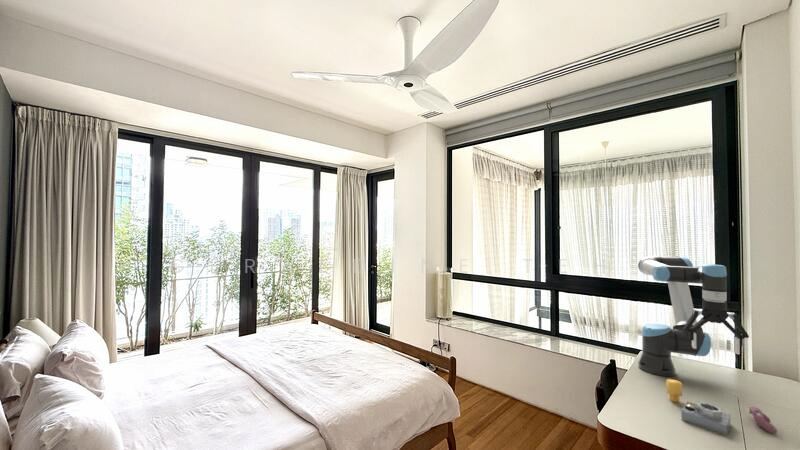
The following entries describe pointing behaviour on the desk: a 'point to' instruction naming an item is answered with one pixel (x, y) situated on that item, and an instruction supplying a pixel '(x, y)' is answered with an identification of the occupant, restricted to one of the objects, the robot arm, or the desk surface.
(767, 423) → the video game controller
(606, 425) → the desk surface
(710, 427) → the box
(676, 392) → the yellow capsule
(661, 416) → the desk surface
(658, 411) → the desk surface
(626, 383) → the desk surface
